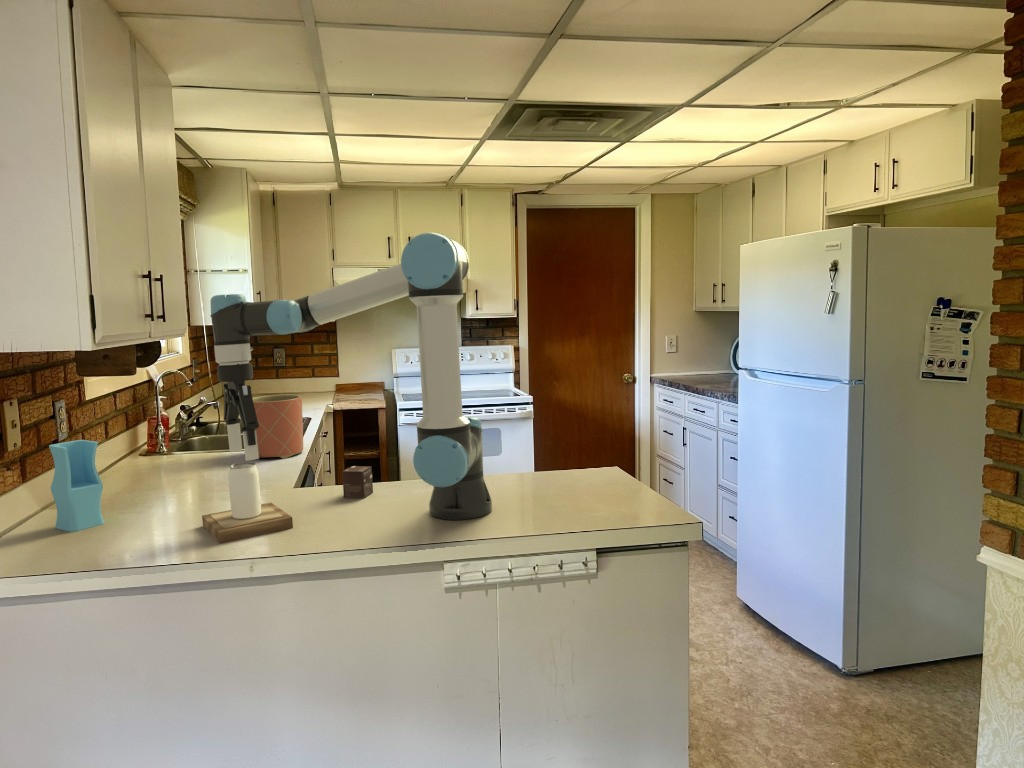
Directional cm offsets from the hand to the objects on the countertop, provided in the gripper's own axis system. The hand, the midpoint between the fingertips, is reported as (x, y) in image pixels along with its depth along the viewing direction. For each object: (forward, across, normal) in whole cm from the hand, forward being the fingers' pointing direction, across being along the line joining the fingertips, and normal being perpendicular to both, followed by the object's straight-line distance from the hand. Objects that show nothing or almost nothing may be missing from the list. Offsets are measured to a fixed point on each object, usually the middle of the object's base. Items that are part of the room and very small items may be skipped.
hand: (243, 455), depth 159 cm
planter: (+16, +79, -30) cm, 86 cm away
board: (+17, +1, +1) cm, 17 cm away
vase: (+16, +30, +32) cm, 46 cm away
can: (+14, 0, +1) cm, 14 cm away
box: (+18, +9, -30) cm, 36 cm away
